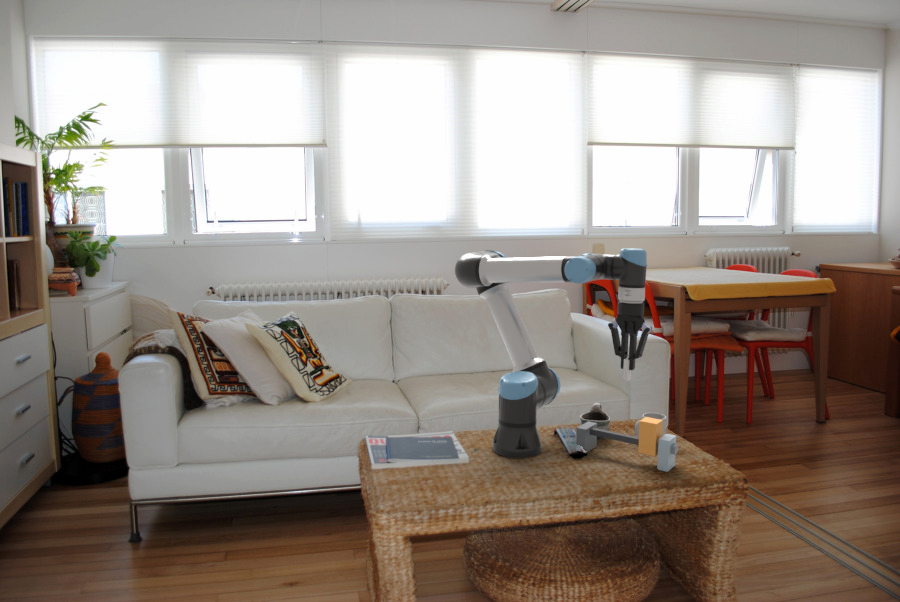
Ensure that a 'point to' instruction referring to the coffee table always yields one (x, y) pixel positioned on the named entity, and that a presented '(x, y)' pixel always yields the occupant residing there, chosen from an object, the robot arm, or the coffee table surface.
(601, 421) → the mug
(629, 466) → the coffee table surface
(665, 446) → the rail rig
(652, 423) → the orange sliding sleeve
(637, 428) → the cup
